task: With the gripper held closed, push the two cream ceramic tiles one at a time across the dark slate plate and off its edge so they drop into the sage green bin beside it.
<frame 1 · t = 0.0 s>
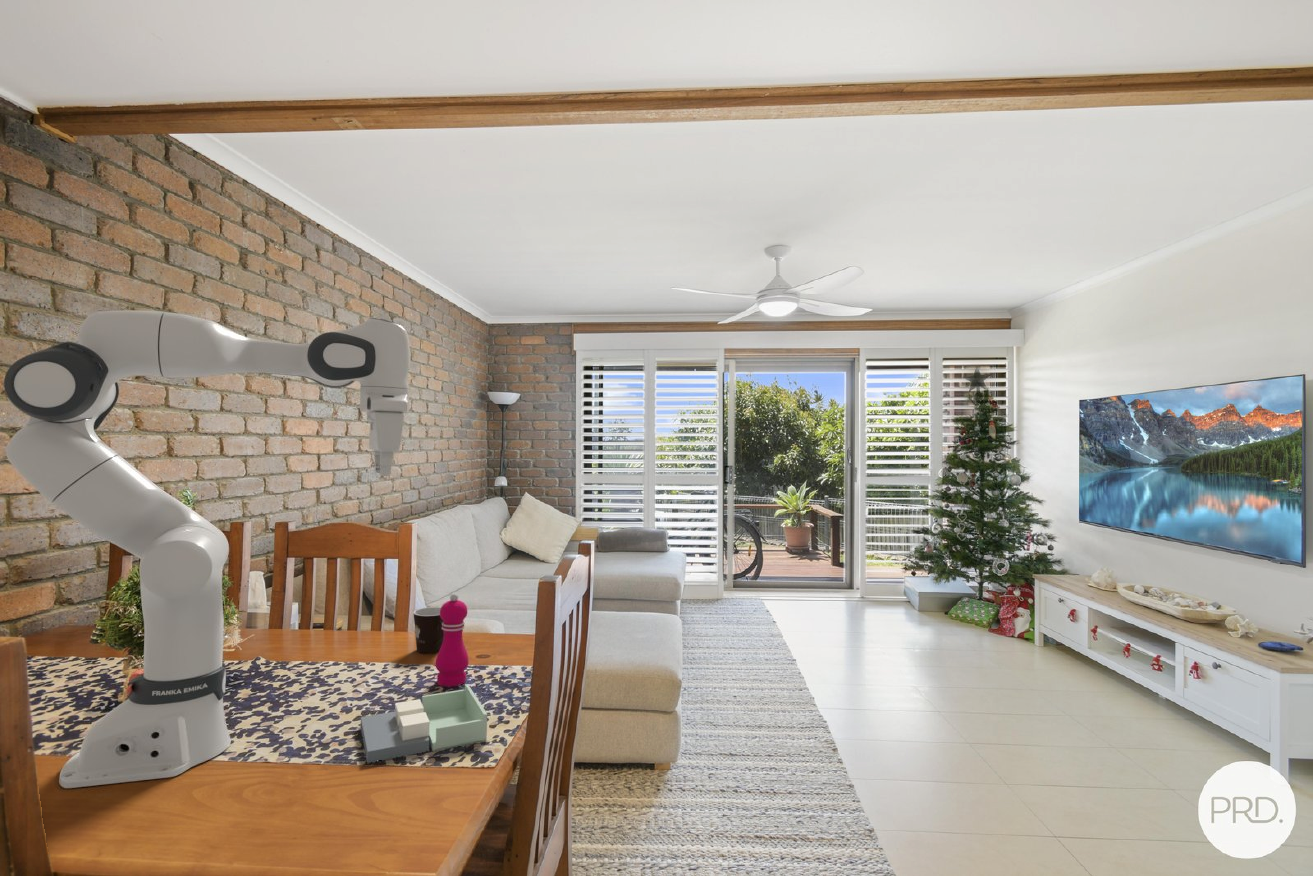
hand: (382, 474, 126), 48 cm above the table, tool pointing down, fingers open, 8 cm apart
slate plate: (393, 739, 118), on the table
coffee mug: (429, 652, 166), on the table
pepper mill: (451, 682, 146), on the table
tile back: (408, 718, 122), point 2 cm above the table, touching slate plate
tile front: (414, 732, 116), point 2 cm above the table, touching slate plate
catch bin: (451, 728, 123), on the table
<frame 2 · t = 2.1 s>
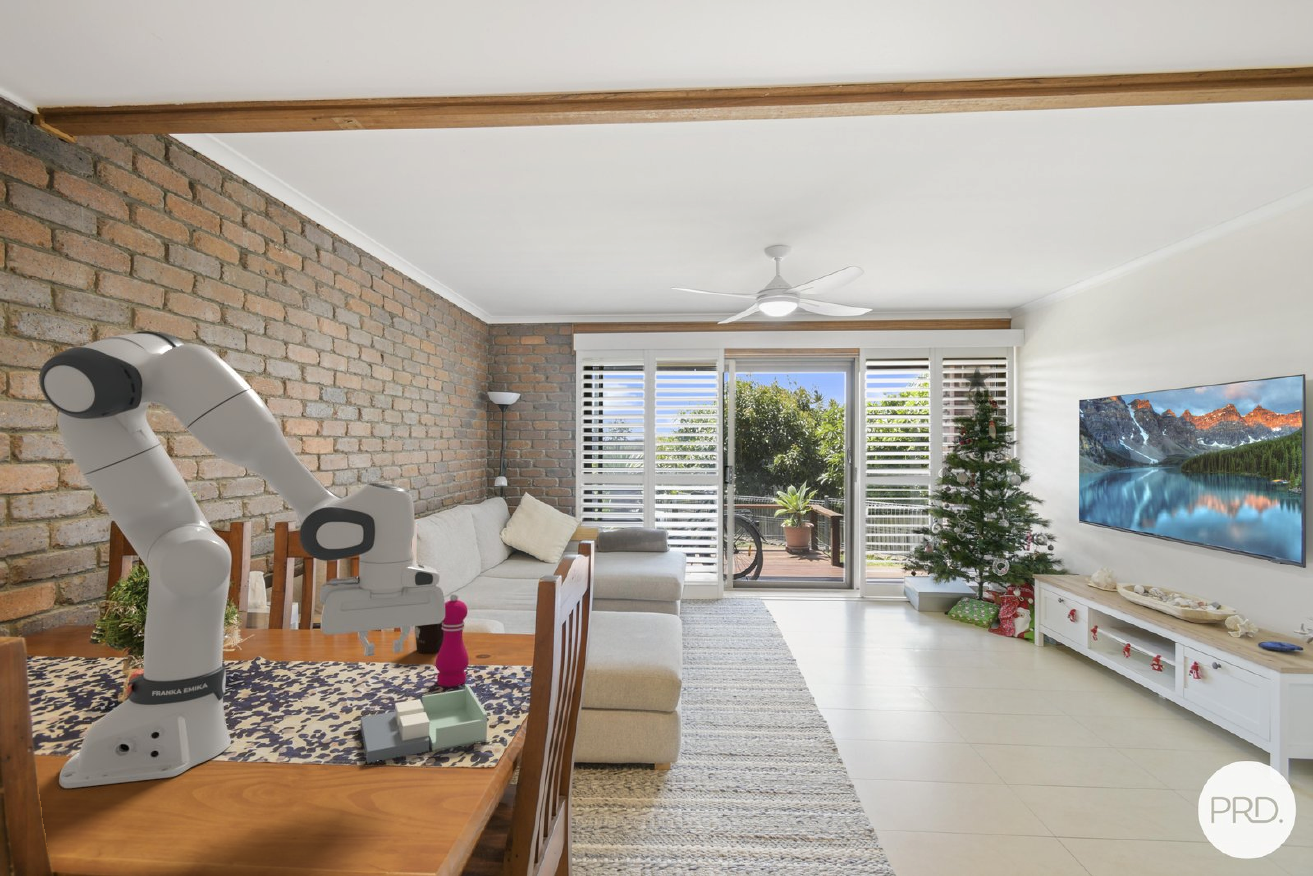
hand: (383, 653, 114), 17 cm above the table, tool pointing down, fingers open, 3 cm apart
nothing on the table moved.
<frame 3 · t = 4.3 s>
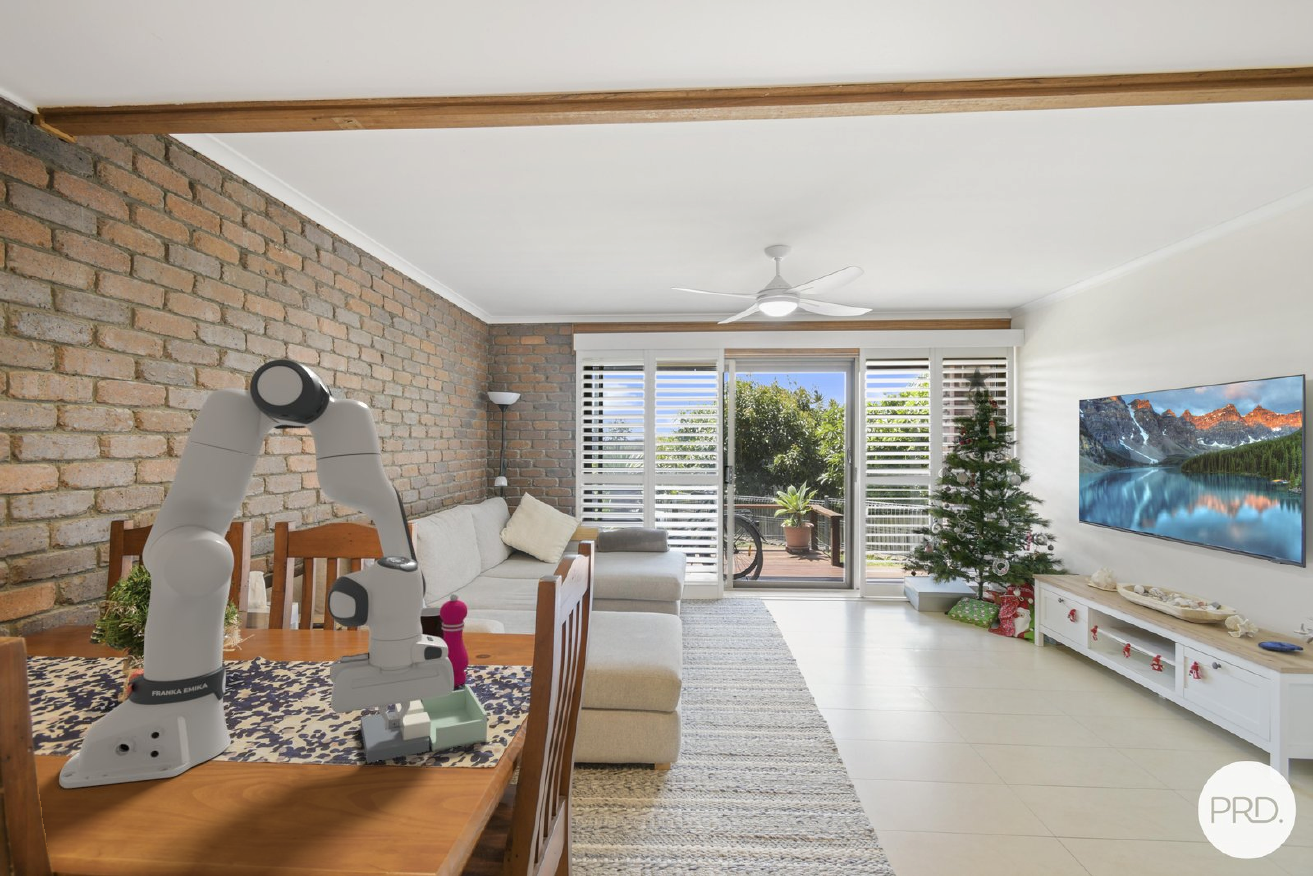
hand: (393, 727, 115), 4 cm above the table, tool pointing down, fingers closed
tile front: (415, 732, 117), point 2 cm above the table, touching gripper, slate plate
everything else where it was.
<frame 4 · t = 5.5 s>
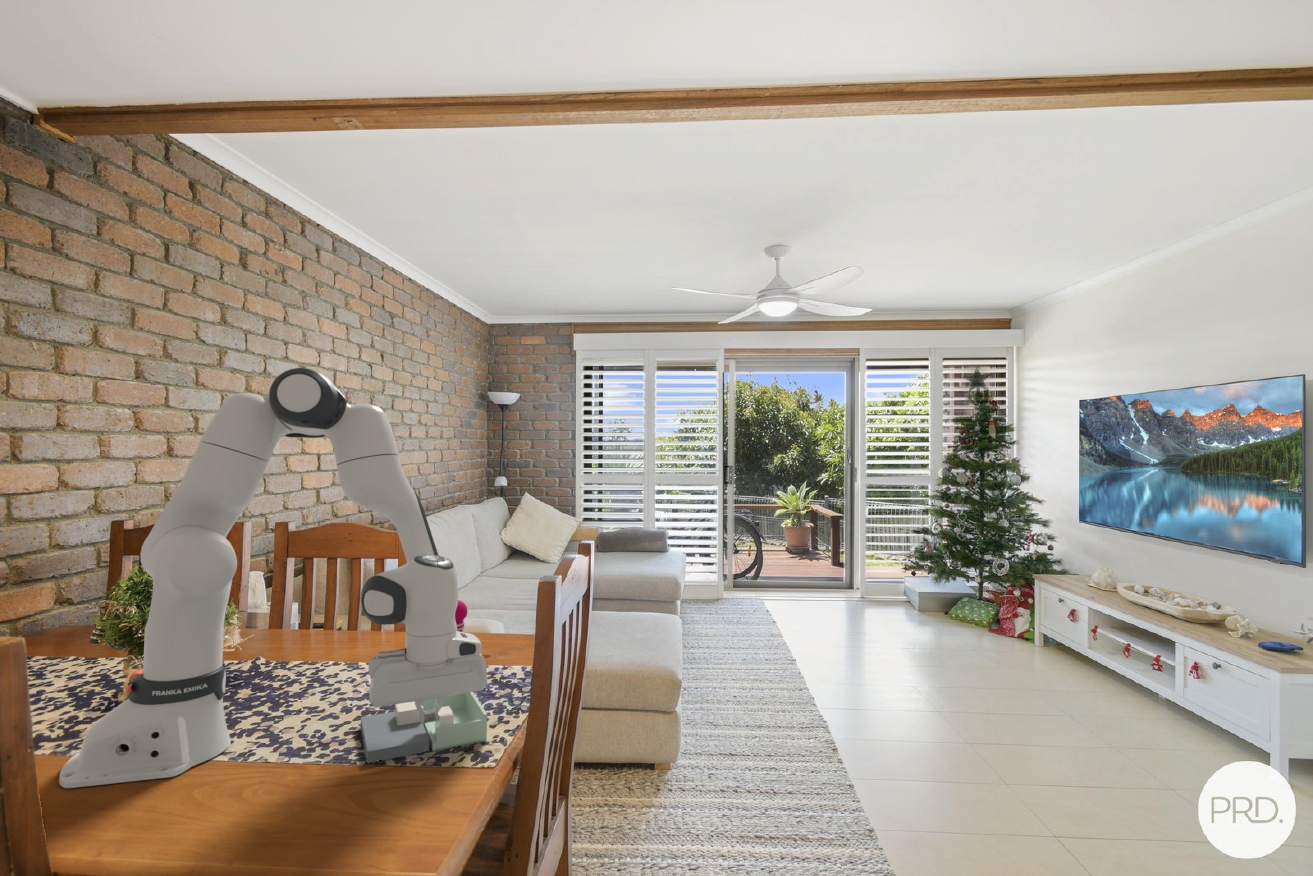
hand: (428, 721, 118), 4 cm above the table, tool pointing down, fingers closed
tile front: (437, 725, 118), point 3 cm above the table, tilted 90°, touching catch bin, gripper
everything else where it was.
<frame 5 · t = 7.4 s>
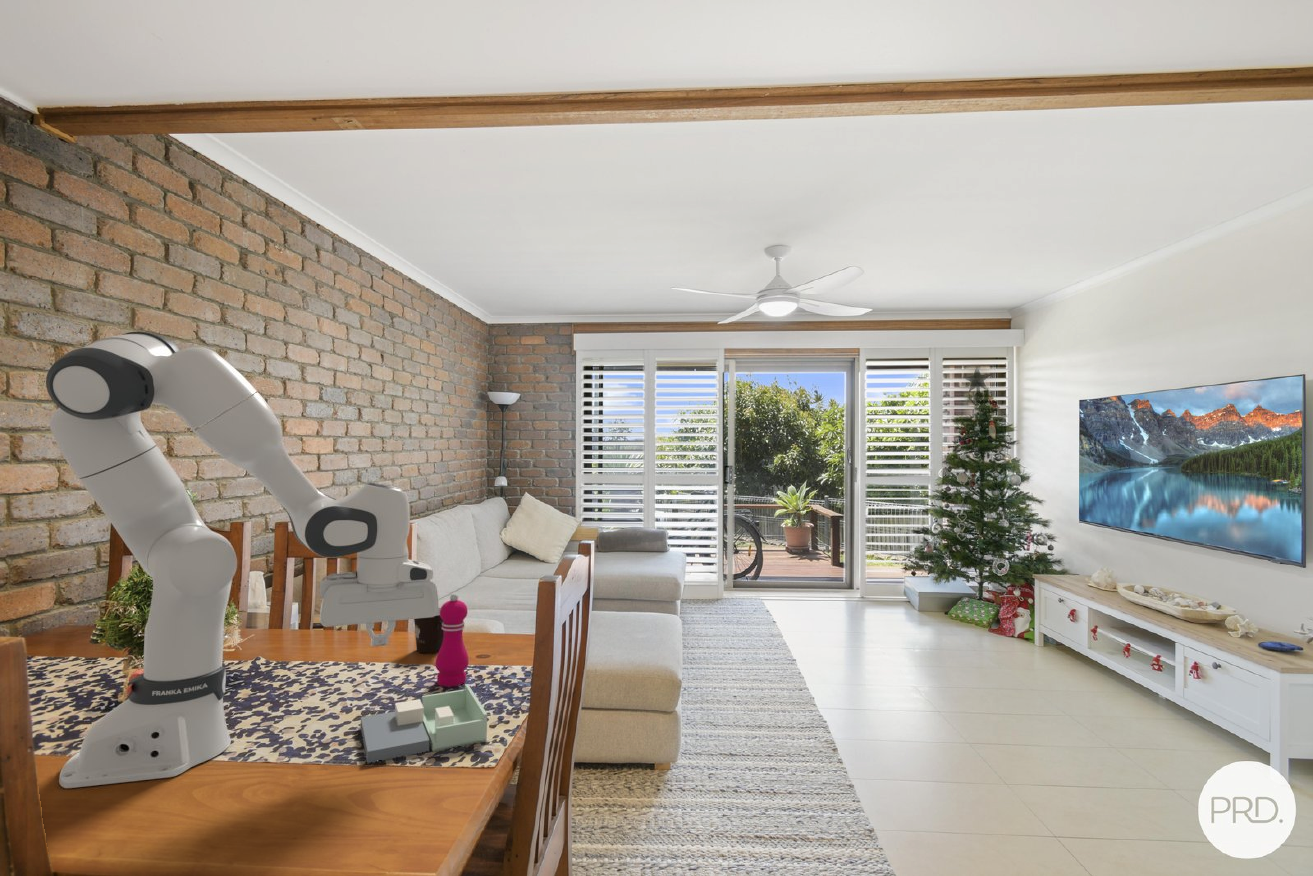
hand: (379, 645, 120), 17 cm above the table, tool pointing down, fingers closed
tile front: (437, 725, 118), point 3 cm above the table, tilted 90°, touching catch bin
everything else where it was.
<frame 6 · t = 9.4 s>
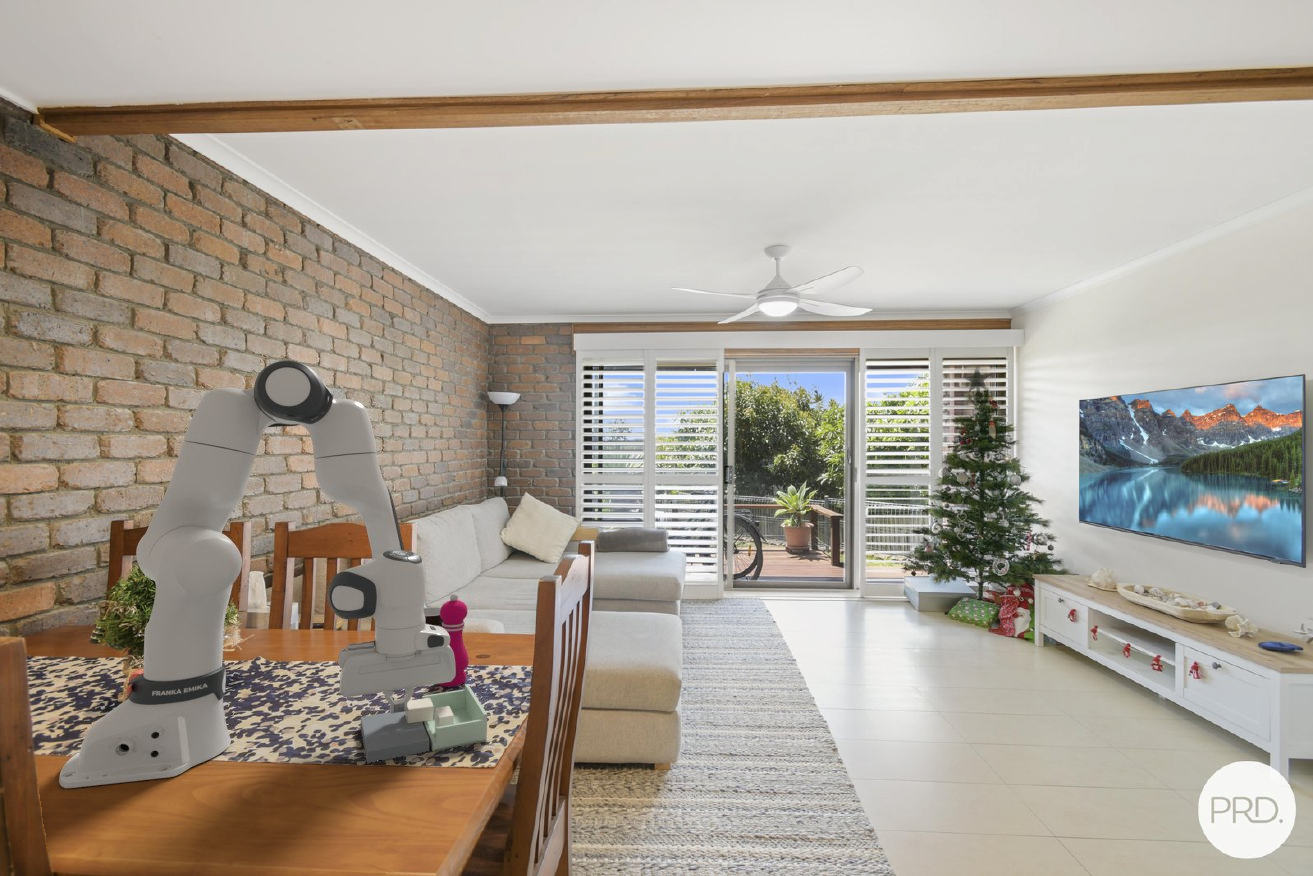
hand: (398, 711, 121), 4 cm above the table, tool pointing down, fingers closed
tile back: (418, 717, 123), point 2 cm above the table, touching gripper
everything else where it was.
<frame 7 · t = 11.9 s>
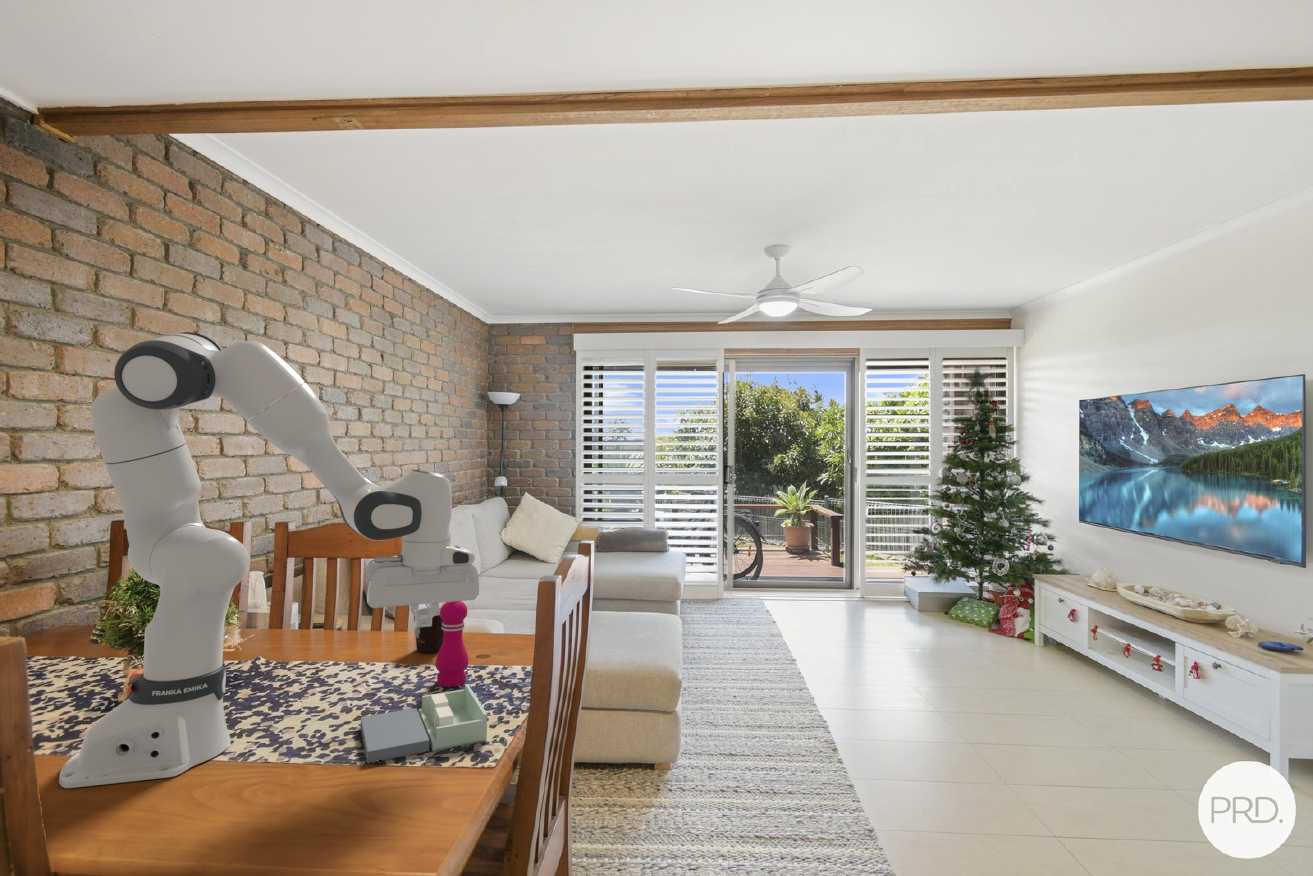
hand: (423, 626, 124), 19 cm above the table, tool pointing down, fingers closed
tile back: (432, 711, 124), point 3 cm above the table, tilted 90°, touching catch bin
everything else where it was.
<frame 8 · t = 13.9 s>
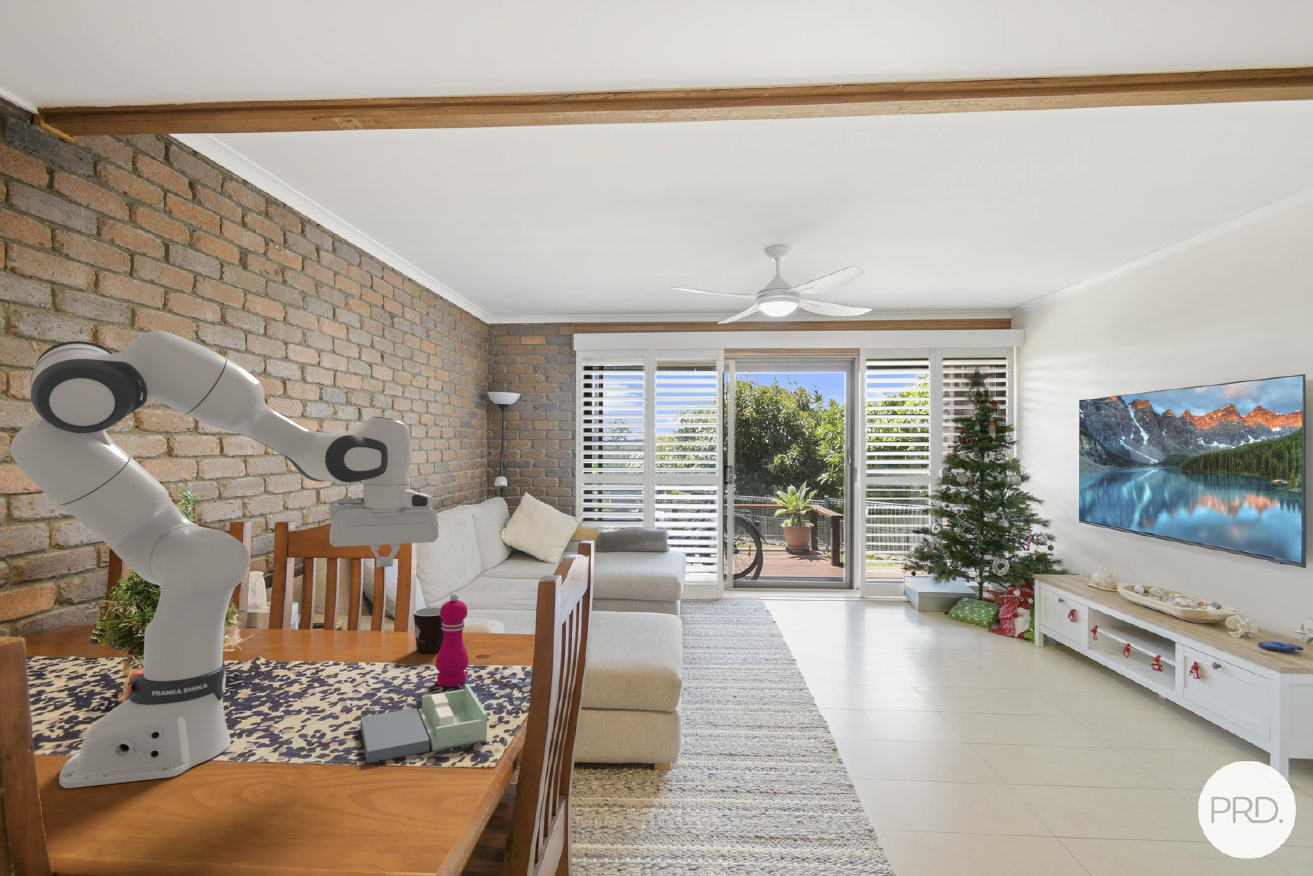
hand: (384, 566, 130), 29 cm above the table, tool pointing down, fingers closed
nothing on the table moved.
at the end: tile front inside the target area (4.9 cm from its centre), point 2.6 cm above the table; tile back inside the target area (4.4 cm from its centre), point 2.6 cm above the table; pepper mill moved 0.2 cm from its start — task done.
